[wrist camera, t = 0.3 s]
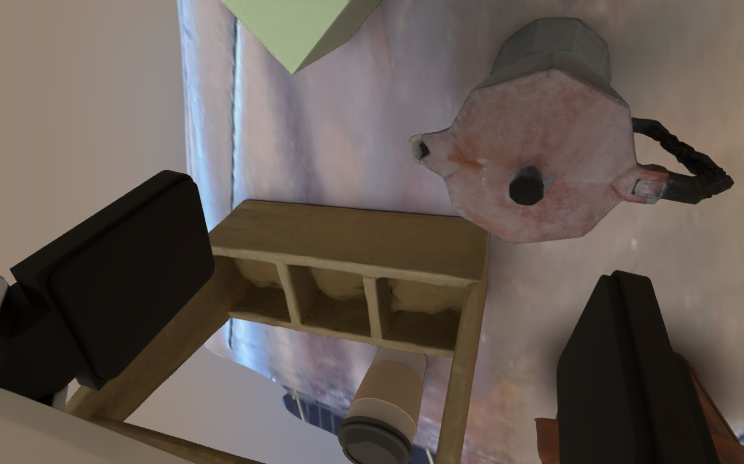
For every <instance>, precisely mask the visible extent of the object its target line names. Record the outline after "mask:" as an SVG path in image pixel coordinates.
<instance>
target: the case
mask: <svg viewBox="0 0 744 464" xmlns="http://www.w3.org/2000/svg"><path fill="white" fill-rule="evenodd" d="M673 353H675V352H673ZM685 361H686V363H687V365H688V367H689V370H690V373H691V376H692V379H693V382H694V385H695V388H696V391H697V394H698V397H699V400H700V403H701V406H702V409H703V412H704V415H705V418H706V421H707V424H708V427H709V430H710V433H711V436H712V439H713V442H714V445H715V448H716V451H717V454H718V457H719V460H720V463H721V464H744V446H743V445H741V444H740V442H739V441H738V439H737V437H736V436H735V434H734V433H733V431H732V430H731V428H730V426H729V425H728V423H727V422H726V420H725V419H724V417H723V416H722V414H721V412H720V411H719V409H718V408H717V406H716V405H715V403H714V402H713V400H712V399H711V397H710V396H709V394H708V392H707V391H706V389H705V388H704V386H703V384H702V383H701V381H700V379H699V378H698V376H697V374H696V371H695V369H694V368H693V366H692V365H691V364H690V363H689V362H688V361H687V360H685ZM534 420H535V421H536V429H537V446H538V453H539V457H540V459H541V461H542V464H560V460H559V430H558V411H557V416H556V419H547V418H537V419H534Z"/></svg>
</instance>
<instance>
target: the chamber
mask: <svg viewBox="0 0 744 464" xmlns="http://www.w3.org/2000/svg"><path fill="white" fill-rule="evenodd" d="M381 1H382V0H353V1H352V3H351V4H350V5H349V6H348V8H347V9H346V10H345V12H344V13H343V14H342V15H341V17H340V18H339V19H338V21H337V22H336V23H335V24H334V26H333V27H332V28H331V30H330V31H329V32H328V33H327V35H326V36H325V37H324V38H323V40H322V41H321V42H320V44H319V45H318V46H317V47H316V49H315V50H314V51H313V53H312V54H311V55H310V56H309V58H308V59H307V60H306V61H305V63H304V64H303V65H302V67H301V68H300V69H299V70H298V71H300V70H301V69H303V68H305V67H306V66H308V65H310V64H311V63H313V62H315V61H316V60H318V59H320V58H321V57H323V56H325V55H326V54H328V53H330V52H331V51H333V50H335V49H336V48H338V47H340V46H341V45H343V44H344V43H346V42H348V40H349V39H350V38H351V37H352V36H353V34H354V33H355V32H356V31H357V30H358V28H359V27H360V26H361V25H362V24H363V22H364V21H365V20H366V19H367V18H368V16H369V15H370V14H371V13H372V12H373V10H374V9H375V8H376V7H377V6H378V4H379V3H380V2H381Z"/></svg>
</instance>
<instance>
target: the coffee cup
mask: <svg viewBox="0 0 744 464" xmlns="http://www.w3.org/2000/svg"><path fill="white" fill-rule="evenodd" d="M426 363H427V360H426V357H425V355H424V354H423V353H416V352H410V351H404V350H398V349H393V348H387V347H382V346H380V348H379V350H378V352H377V354H376V356H375V358H374V360H373V363H372V365H371V367H370V368H369V369H368V371H367V373H366V375H365V377H364V379H363V381H362V383H361V385H360V387H359V389H358V391H357V393H356V394H355V396H354V398H353V400H352V402H351V404H350V406H349V411H348V413H347V415H346V417H345V419H344V420H343V421H342V422H341V423H340V427H339V429H340V431H339V433H338V439H339V442H340V444H341V446H342V448H343V452H344V454H345V456H346V457H347V458H348V459H349V460H350V461H351V462H352V463H354V464H407V463H408V462H409V460H410V458H411V457H412V455H413V447H412V445H413V440H414V436H415V434H416V431H417V425H418V419H419V412H420V406H421V400H422V394H423V380H424V374H425V369H426Z"/></svg>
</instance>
